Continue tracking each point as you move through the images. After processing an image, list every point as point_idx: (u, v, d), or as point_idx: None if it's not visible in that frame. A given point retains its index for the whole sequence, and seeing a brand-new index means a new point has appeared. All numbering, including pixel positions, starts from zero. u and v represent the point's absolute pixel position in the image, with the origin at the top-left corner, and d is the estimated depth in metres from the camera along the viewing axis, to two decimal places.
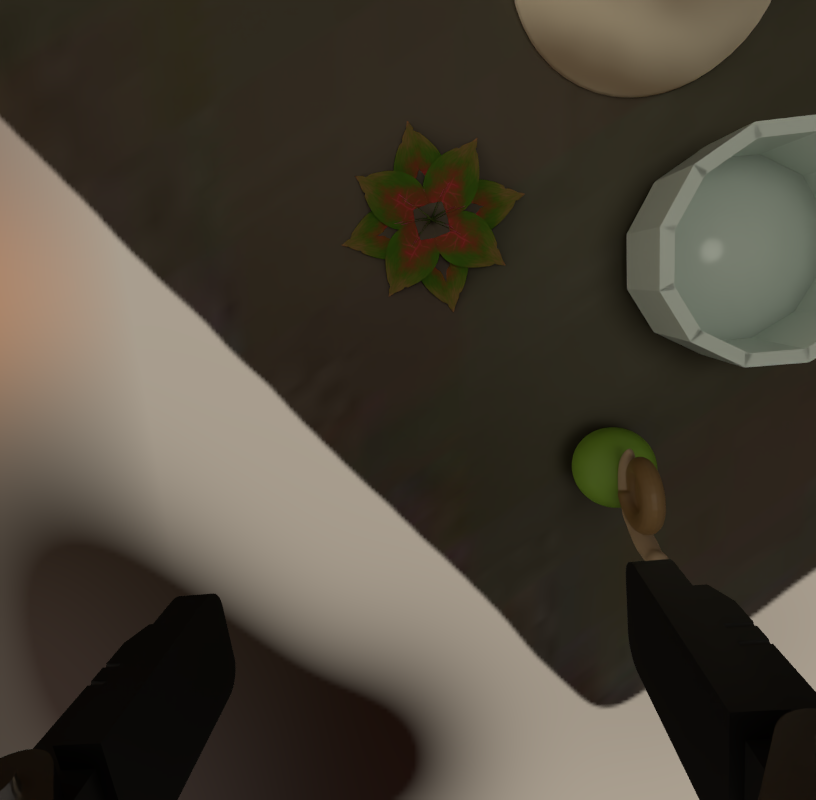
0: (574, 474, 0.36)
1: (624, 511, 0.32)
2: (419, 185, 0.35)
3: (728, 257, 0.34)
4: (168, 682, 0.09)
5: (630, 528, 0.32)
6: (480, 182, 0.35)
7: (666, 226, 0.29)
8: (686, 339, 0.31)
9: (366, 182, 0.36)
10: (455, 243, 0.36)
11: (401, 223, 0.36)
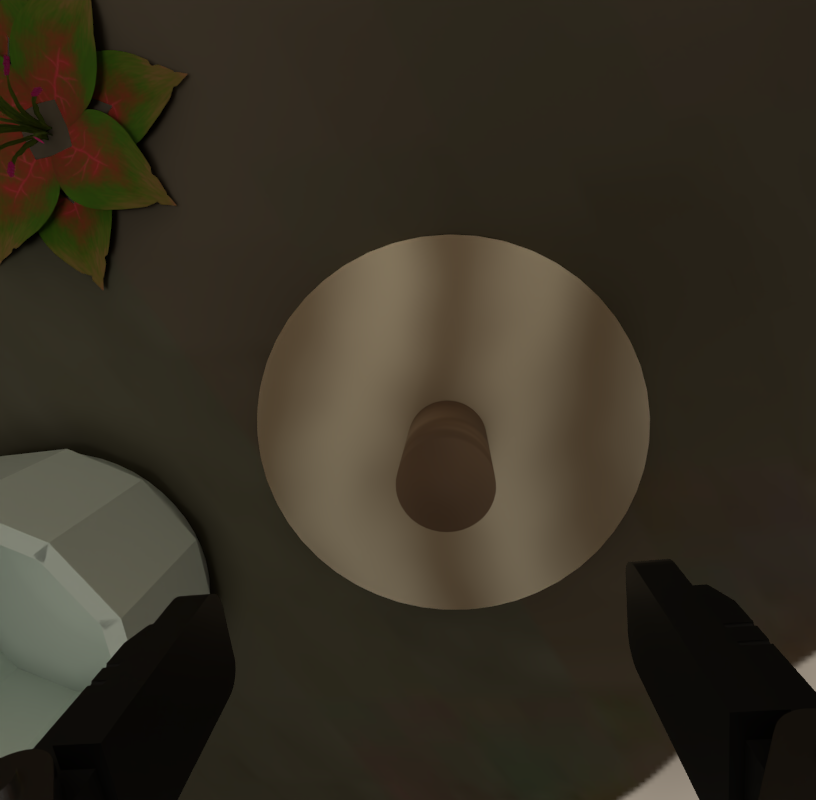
0: None
1: None
2: (87, 101, 0.20)
3: None
4: (169, 682, 0.09)
5: None
6: (107, 213, 0.21)
7: None
8: None
9: None
10: (9, 175, 0.21)
11: (23, 70, 0.20)
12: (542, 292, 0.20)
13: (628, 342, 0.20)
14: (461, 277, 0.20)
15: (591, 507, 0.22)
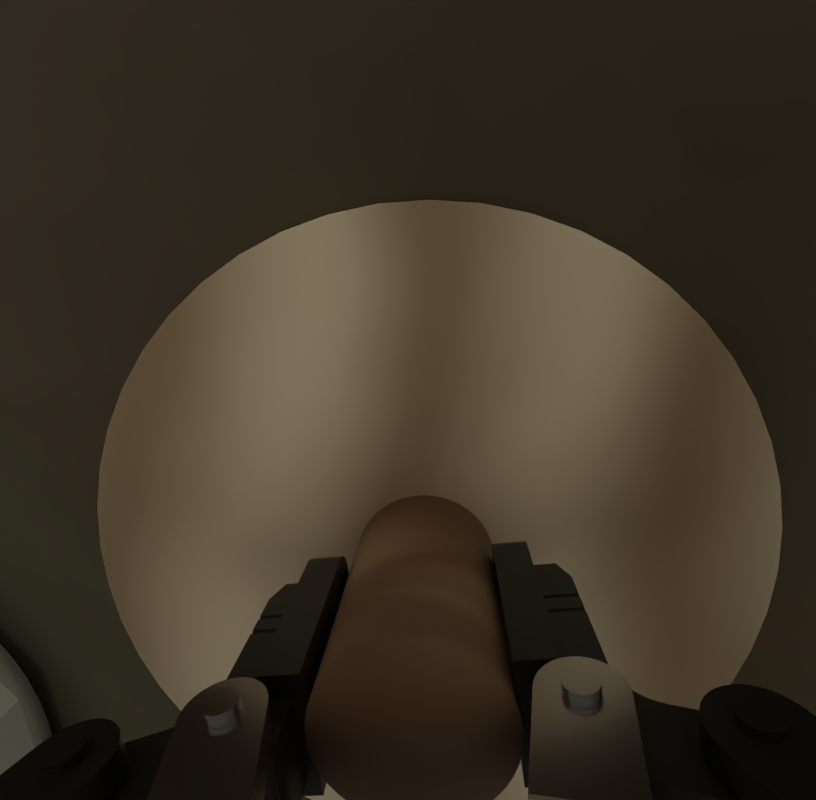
0: None
1: None
2: None
3: None
4: (326, 629, 0.09)
5: None
6: None
7: None
8: None
9: None
10: None
11: None
12: (599, 308, 0.11)
13: (751, 400, 0.11)
14: (451, 279, 0.11)
15: (670, 675, 0.13)
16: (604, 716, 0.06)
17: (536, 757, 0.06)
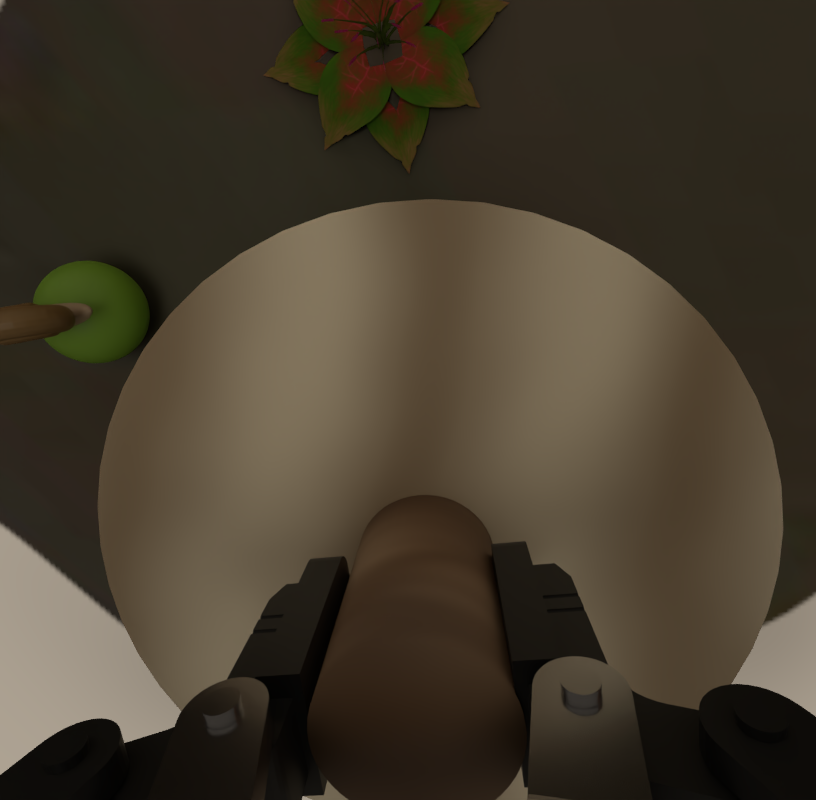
0: (72, 262, 0.28)
1: None
2: (426, 20, 0.26)
3: None
4: (327, 629, 0.09)
5: None
6: (425, 111, 0.27)
7: None
8: None
9: None
10: (351, 76, 0.27)
11: None
12: (600, 308, 0.11)
13: (752, 399, 0.11)
14: (452, 279, 0.11)
15: (671, 674, 0.13)
16: (603, 716, 0.06)
17: (535, 757, 0.06)
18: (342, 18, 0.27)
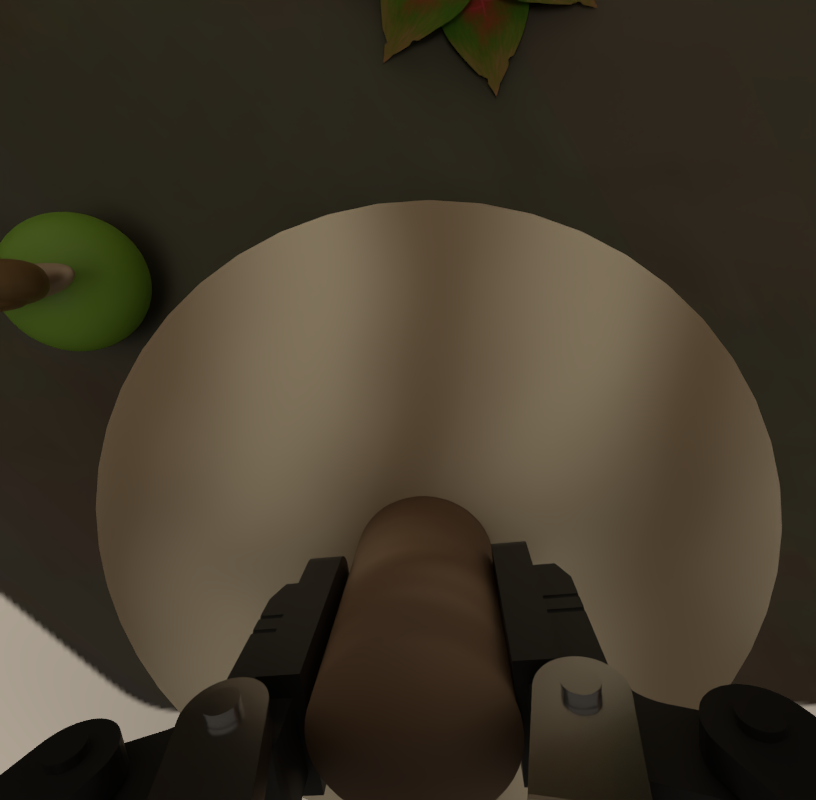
0: None
1: None
2: None
3: None
4: (327, 629, 0.09)
5: None
6: (523, 10, 0.20)
7: None
8: None
9: None
10: None
11: None
12: (598, 309, 0.11)
13: (751, 401, 0.11)
14: (450, 280, 0.11)
15: (670, 675, 0.13)
16: (603, 715, 0.06)
17: (535, 756, 0.06)
18: None
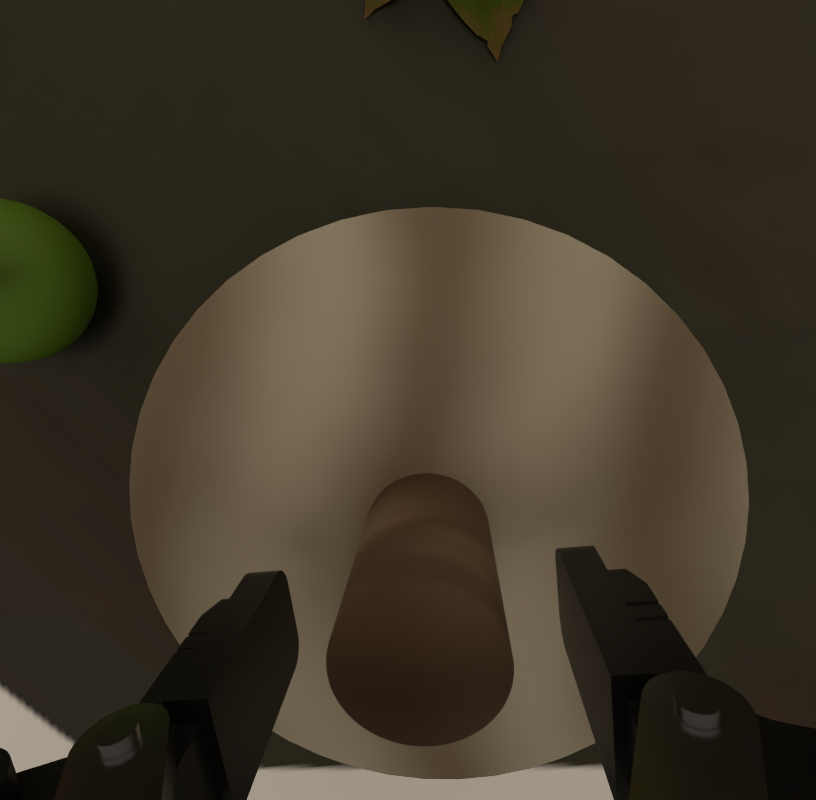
0: None
1: None
2: None
3: None
4: (252, 649, 0.09)
5: None
6: None
7: None
8: None
9: None
10: None
11: None
12: (583, 304, 0.12)
13: (720, 386, 0.13)
14: (451, 278, 0.12)
15: None
16: (729, 738, 0.06)
17: (664, 784, 0.05)
18: None
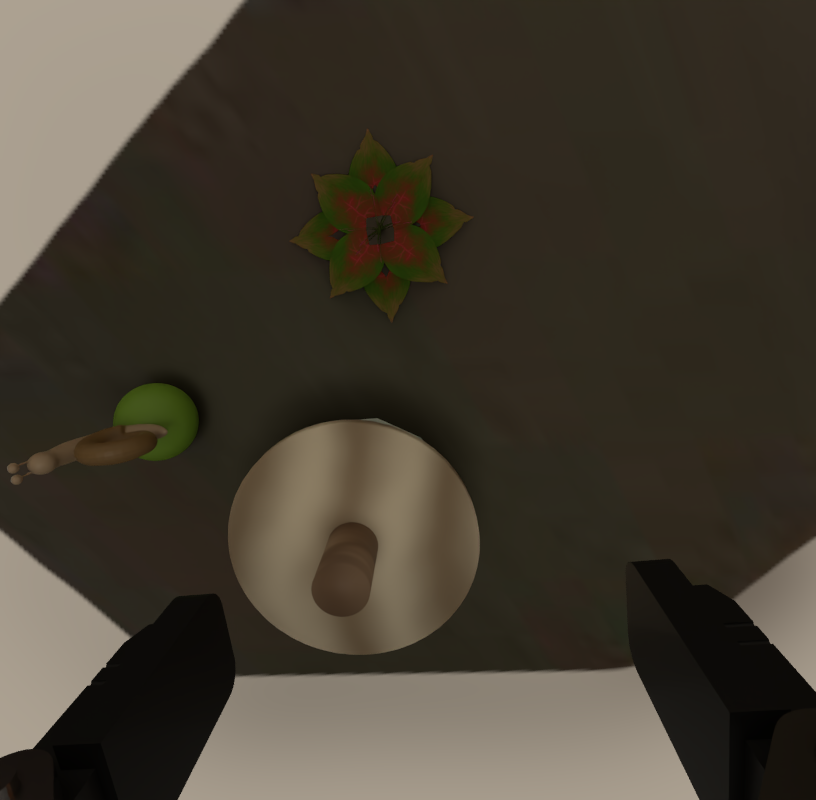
0: (144, 385, 0.37)
1: (100, 431, 0.33)
2: (413, 221, 0.36)
3: None
4: (168, 682, 0.09)
5: (84, 438, 0.33)
6: (407, 281, 0.37)
7: None
8: None
9: (424, 165, 0.35)
10: (355, 251, 0.37)
11: (380, 197, 0.36)
12: (412, 460, 0.32)
13: (465, 491, 0.33)
14: (361, 449, 0.32)
15: (445, 590, 0.34)
16: None
17: None
18: (352, 211, 0.36)
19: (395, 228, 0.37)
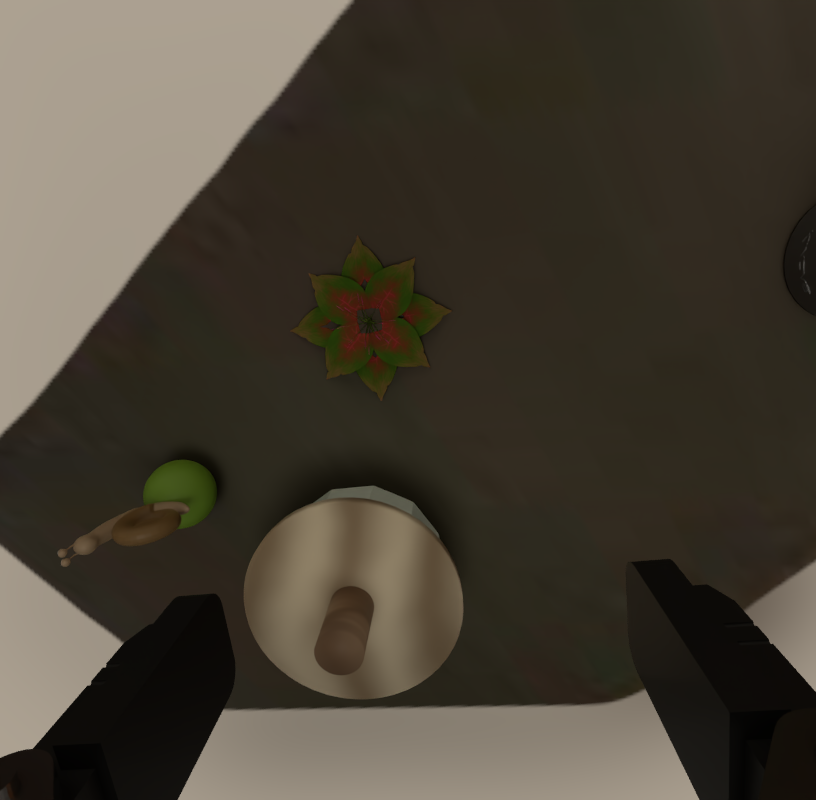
0: (168, 464, 0.42)
1: (133, 511, 0.38)
2: (399, 314, 0.41)
3: None
4: (168, 682, 0.09)
5: (119, 517, 0.38)
6: (394, 365, 0.42)
7: None
8: None
9: (408, 266, 0.40)
10: (348, 339, 0.41)
11: (369, 294, 0.40)
12: (400, 533, 0.37)
13: (448, 559, 0.37)
14: (357, 524, 0.37)
15: (434, 644, 0.39)
16: None
17: None
18: (345, 305, 0.41)
19: (383, 319, 0.41)
